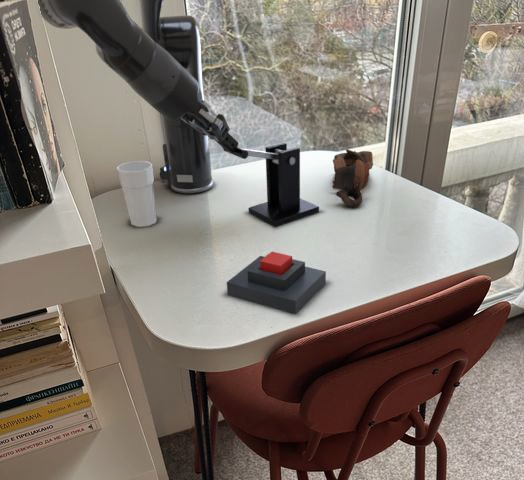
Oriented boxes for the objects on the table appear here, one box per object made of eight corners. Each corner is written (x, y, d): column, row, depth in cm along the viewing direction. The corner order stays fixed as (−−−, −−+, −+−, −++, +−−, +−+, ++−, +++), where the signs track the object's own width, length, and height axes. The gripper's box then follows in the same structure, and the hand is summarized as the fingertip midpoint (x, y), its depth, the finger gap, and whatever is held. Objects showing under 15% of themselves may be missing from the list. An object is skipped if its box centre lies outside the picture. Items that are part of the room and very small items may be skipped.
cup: (154, 212, 113) (145, 158, 107) (165, 223, 109) (156, 167, 102) (123, 219, 111) (112, 164, 105) (133, 231, 106) (122, 174, 100)
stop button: (260, 271, 84) (259, 260, 83) (272, 261, 86) (271, 251, 85) (280, 276, 82) (280, 265, 81) (292, 266, 85) (292, 255, 84)
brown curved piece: (333, 165, 114) (375, 165, 113) (334, 149, 114) (375, 149, 113) (333, 174, 129) (370, 173, 128) (334, 159, 128) (371, 159, 127)
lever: (240, 161, 95) (243, 147, 94) (221, 153, 99) (224, 139, 98) (296, 168, 103) (299, 155, 102) (277, 161, 107) (280, 148, 106)
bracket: (275, 227, 105) (273, 159, 98) (248, 213, 111) (244, 148, 104) (319, 212, 110) (320, 146, 103) (291, 199, 116) (290, 137, 109)
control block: (227, 294, 86) (225, 271, 83) (260, 267, 92) (259, 245, 90) (295, 313, 80) (295, 290, 78) (325, 283, 87) (326, 260, 85)
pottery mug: (330, 142, 106) (366, 140, 109) (310, 164, 115) (344, 161, 118) (345, 202, 106) (381, 198, 109) (324, 219, 115) (357, 214, 118)
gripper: (196, 64, 79) (267, 136, 92) (154, 55, 88) (224, 122, 101) (168, 109, 80) (243, 175, 93) (130, 96, 89) (202, 157, 102)
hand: (233, 147), depth 97 cm, fingers closed
